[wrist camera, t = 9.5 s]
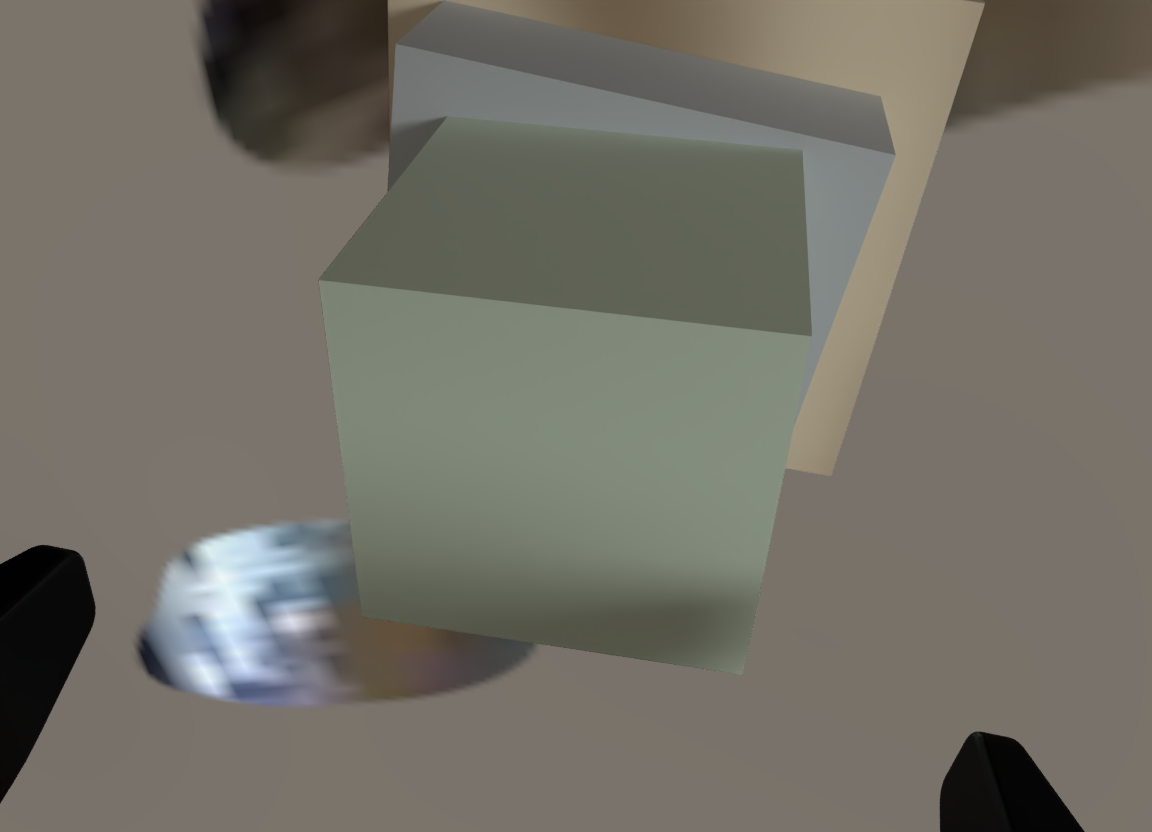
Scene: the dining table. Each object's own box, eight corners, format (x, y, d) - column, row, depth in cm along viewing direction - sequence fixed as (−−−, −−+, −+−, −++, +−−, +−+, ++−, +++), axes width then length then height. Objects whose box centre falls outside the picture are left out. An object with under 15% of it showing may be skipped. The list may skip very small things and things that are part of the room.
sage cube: (802, 150, 14) (812, 336, 10) (751, 440, 17) (742, 675, 13) (448, 115, 14) (318, 279, 10) (459, 402, 17) (362, 617, 13)
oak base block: (951, -46, 17) (984, 3, 15) (824, 380, 23) (831, 476, 20) (447, -116, 18) (386, -83, 15) (438, 314, 23) (392, 397, 21)
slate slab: (881, 96, 16) (896, 155, 14) (758, 443, 20) (755, 527, 18) (444, 0, 16) (396, 44, 14) (414, 362, 20) (373, 436, 18)
